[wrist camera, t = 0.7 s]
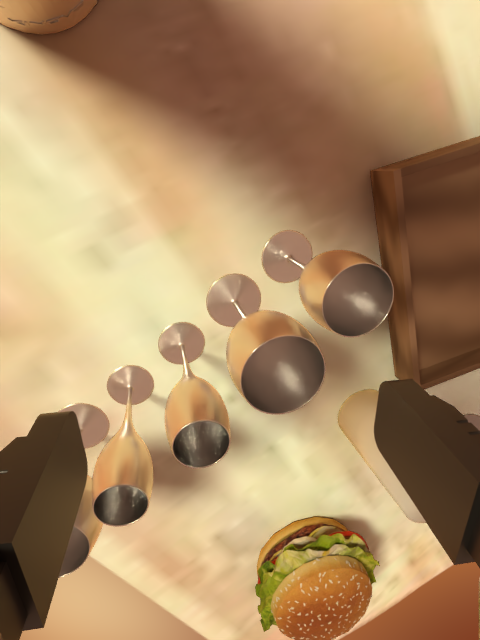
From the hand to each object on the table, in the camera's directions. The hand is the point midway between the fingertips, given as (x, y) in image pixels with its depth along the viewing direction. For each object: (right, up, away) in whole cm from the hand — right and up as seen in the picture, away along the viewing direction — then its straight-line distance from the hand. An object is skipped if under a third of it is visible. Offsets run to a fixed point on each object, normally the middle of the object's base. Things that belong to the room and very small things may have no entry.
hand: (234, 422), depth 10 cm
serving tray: (+20, +8, +25) cm, 33 cm away
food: (+8, -24, +35) cm, 43 cm away
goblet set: (-5, +1, +23) cm, 23 cm away
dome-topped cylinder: (+13, -7, +29) cm, 33 cm away
